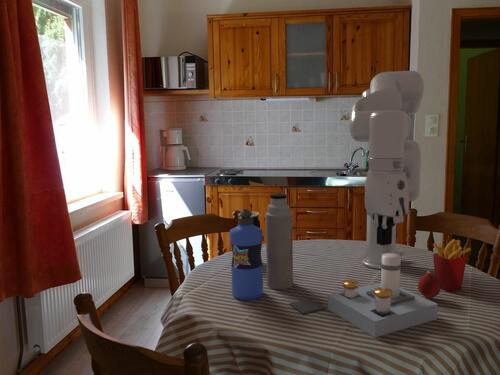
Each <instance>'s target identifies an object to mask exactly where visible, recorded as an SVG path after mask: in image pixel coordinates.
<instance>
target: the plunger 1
mask: <svg viewBox="0 0 500 375" xmlns="http://www.w3.org/2000/svg"><path fill="white" fill-rule="evenodd" d="M341 283H342V287H343V291H344V297H345V298H347V299H349V300H350V299H354V298H358V288H360V282H359V281H357V280H355V279H345V280H343V281H342V282H341Z"/></svg>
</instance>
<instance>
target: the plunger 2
mask: <svg viewBox="0 0 500 375" xmlns="http://www.w3.org/2000/svg"><path fill="white" fill-rule="evenodd" d="M374 294H375V314H377V315H379V316H380V317H385V316H389V315H391V296H392V290H391V289H388V288H375V289H374Z"/></svg>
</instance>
